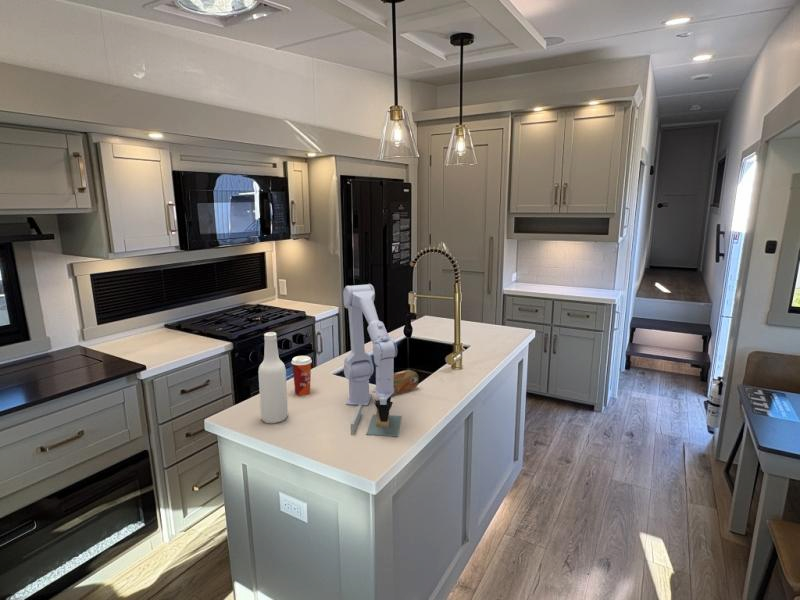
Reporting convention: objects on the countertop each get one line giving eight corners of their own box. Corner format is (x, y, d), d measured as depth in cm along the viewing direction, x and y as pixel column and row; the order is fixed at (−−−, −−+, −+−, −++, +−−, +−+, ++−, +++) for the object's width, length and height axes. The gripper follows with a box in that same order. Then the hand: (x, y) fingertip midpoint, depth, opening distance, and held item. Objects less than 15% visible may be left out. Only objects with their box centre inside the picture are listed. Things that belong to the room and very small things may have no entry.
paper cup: (306, 398, 170) (305, 362, 167) (288, 395, 173) (287, 360, 170) (316, 390, 177) (315, 356, 175) (299, 387, 180) (298, 354, 177)
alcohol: (257, 416, 155) (252, 332, 149) (282, 410, 160) (278, 328, 154) (266, 426, 148) (261, 338, 142) (292, 419, 153) (288, 334, 147)
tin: (387, 398, 171) (387, 377, 169) (382, 395, 174) (383, 374, 172) (419, 389, 179) (419, 369, 178) (414, 386, 182) (414, 367, 180)
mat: (372, 415, 157) (372, 414, 157) (401, 416, 156) (401, 415, 156) (366, 434, 143) (366, 434, 143) (397, 436, 142) (397, 435, 142)
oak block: (377, 421, 151) (377, 404, 150) (389, 421, 151) (389, 405, 150) (376, 427, 148) (376, 410, 146) (388, 427, 147) (388, 410, 146)
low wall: (358, 414, 157) (358, 405, 156) (361, 414, 157) (361, 405, 156) (350, 434, 144) (350, 423, 143) (353, 434, 143) (353, 424, 143)
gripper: (374, 368, 153) (374, 406, 156) (370, 385, 139) (370, 426, 142) (395, 369, 153) (394, 406, 156) (393, 385, 139) (392, 426, 142)
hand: (384, 415), depth 149 cm, fingers open, 7 cm apart
